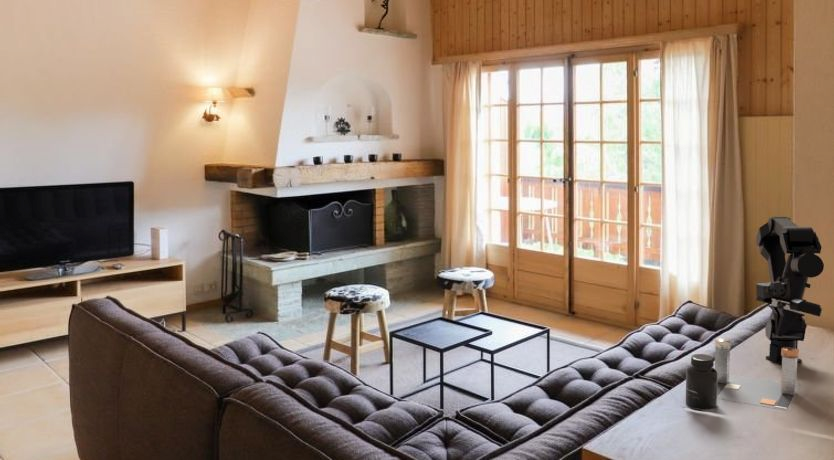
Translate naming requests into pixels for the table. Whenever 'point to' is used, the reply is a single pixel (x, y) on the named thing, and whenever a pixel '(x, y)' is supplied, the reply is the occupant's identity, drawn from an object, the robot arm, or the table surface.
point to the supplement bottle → (701, 383)
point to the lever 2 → (789, 370)
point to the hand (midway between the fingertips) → (778, 336)
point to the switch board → (755, 392)
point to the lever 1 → (722, 359)
